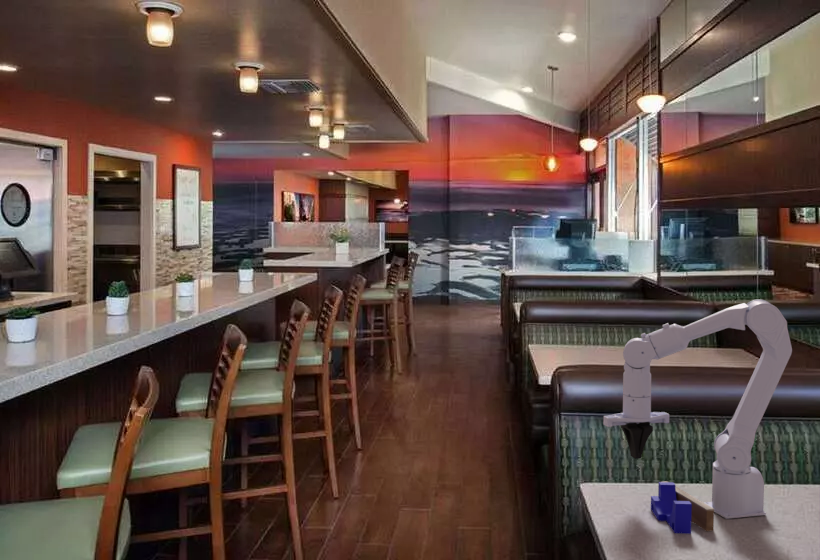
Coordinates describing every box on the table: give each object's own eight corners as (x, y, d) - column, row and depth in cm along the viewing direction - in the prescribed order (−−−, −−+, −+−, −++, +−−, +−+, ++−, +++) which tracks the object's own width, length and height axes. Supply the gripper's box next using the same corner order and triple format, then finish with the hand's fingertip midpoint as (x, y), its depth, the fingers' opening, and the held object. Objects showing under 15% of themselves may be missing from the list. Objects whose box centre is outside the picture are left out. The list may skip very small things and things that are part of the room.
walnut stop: (666, 500, 154) (667, 481, 154) (713, 530, 139) (714, 508, 138) (660, 501, 154) (660, 481, 154) (706, 531, 138) (706, 509, 138)
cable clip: (650, 510, 150) (651, 482, 149) (672, 510, 149) (673, 482, 149) (666, 534, 138) (667, 503, 137) (691, 534, 137) (691, 504, 137)
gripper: (657, 389, 159) (656, 449, 160) (596, 392, 156) (596, 453, 157) (675, 396, 152) (674, 458, 153) (613, 399, 149) (612, 464, 150)
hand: (635, 457), depth 154 cm, fingers closed
